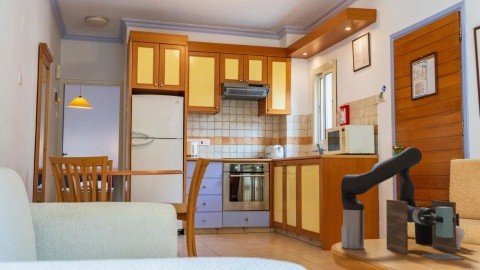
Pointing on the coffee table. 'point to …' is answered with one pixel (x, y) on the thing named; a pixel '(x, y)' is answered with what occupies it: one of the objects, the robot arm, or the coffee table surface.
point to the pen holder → (423, 234)
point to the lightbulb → (459, 236)
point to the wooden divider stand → (399, 227)
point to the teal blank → (444, 222)
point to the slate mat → (442, 257)
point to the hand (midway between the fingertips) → (448, 220)
